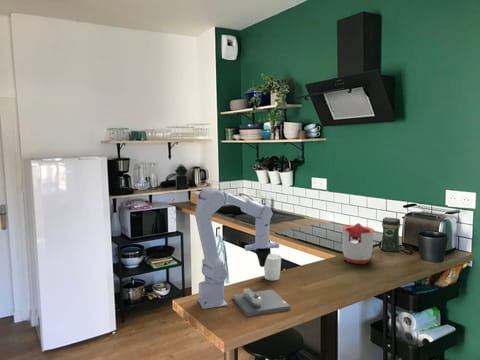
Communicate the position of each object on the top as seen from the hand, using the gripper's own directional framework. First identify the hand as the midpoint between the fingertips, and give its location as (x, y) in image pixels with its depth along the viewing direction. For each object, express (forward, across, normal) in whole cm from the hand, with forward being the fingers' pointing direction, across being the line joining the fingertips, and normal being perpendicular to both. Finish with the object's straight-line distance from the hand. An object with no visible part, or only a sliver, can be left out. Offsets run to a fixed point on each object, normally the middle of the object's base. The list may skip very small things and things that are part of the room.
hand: (261, 266), depth 162 cm
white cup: (+11, -10, -12) cm, 19 cm away
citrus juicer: (+11, -61, -20) cm, 65 cm away
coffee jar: (+11, -92, -32) cm, 98 cm away
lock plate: (+10, +6, +12) cm, 17 cm away
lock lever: (+9, +9, +13) cm, 18 cm away
